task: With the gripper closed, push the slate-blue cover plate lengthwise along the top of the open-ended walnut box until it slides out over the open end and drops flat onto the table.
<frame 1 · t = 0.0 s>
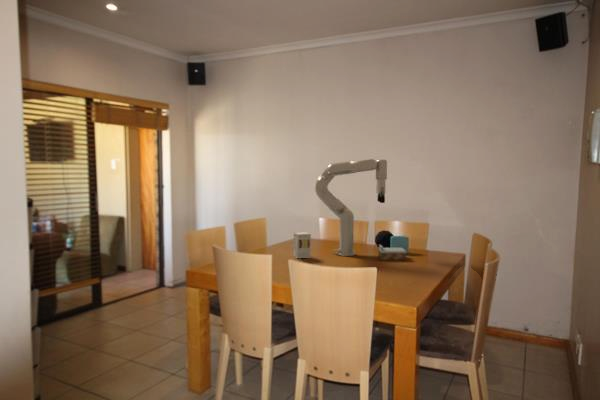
hand: (381, 202, 291), 37 cm above the table, tool pointing down, fingers open, 9 cm apart
decorative orb: (384, 249, 312), on the table
data package: (399, 253, 299), on the table
cover plate: (391, 252, 280), point 4 cm above the table, touching box
supplement box: (302, 257, 285), on the table
box: (391, 258, 280), on the table
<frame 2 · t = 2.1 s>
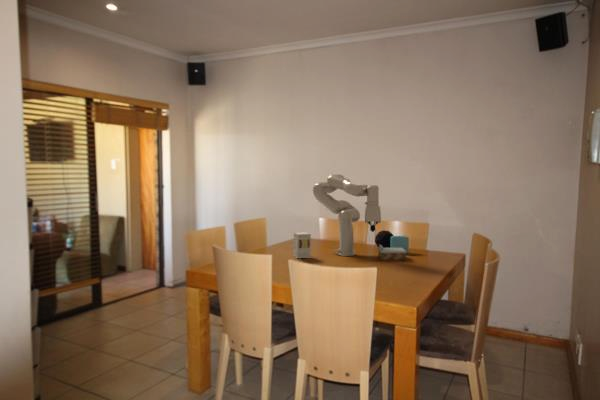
hand: (372, 231, 279), 18 cm above the table, tool pointing down, fingers closed
nothing on the table moved.
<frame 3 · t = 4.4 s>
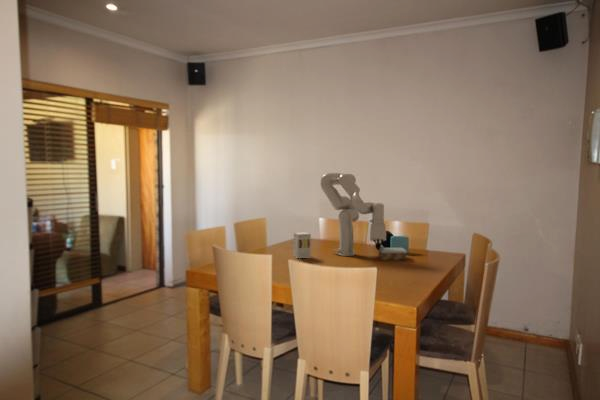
hand: (378, 249, 280), 6 cm above the table, tool pointing down, fingers closed
cover plate: (392, 252, 280), point 4 cm above the table, touching box, gripper
everything else where it was.
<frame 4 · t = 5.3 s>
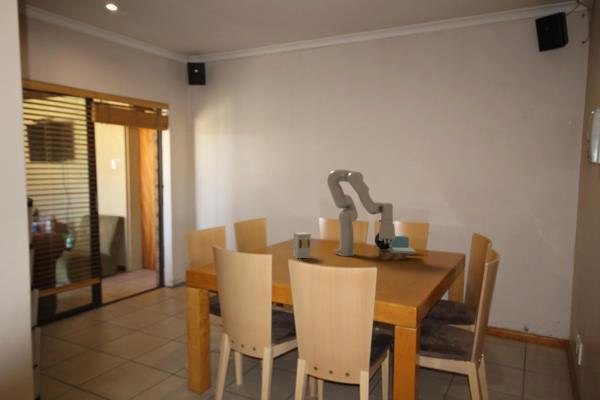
hand: (386, 249, 280), 6 cm above the table, tool pointing down, fingers closed
cover plate: (401, 252, 280), point 4 cm above the table, touching box, gripper
everything else where it was.
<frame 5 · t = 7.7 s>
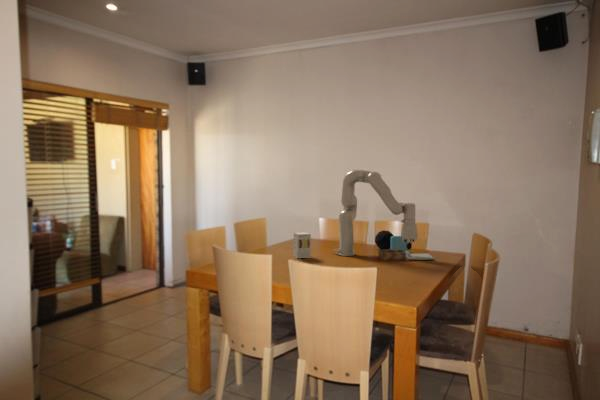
hand: (409, 249, 280), 6 cm above the table, tool pointing down, fingers closed
cover plate: (418, 258, 280), on the table
everything else where it was.
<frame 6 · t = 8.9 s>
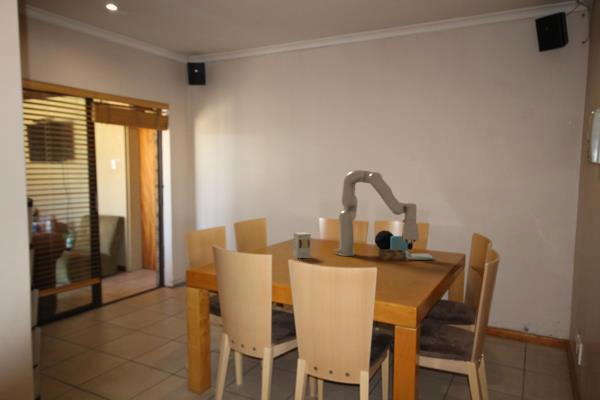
hand: (410, 249, 280), 6 cm above the table, tool pointing down, fingers closed
nothing on the table moved.
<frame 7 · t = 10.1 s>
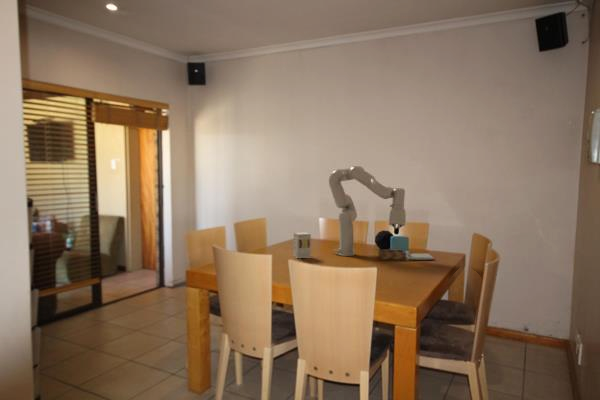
hand: (396, 234, 280), 16 cm above the table, tool pointing down, fingers closed
nothing on the table moved.
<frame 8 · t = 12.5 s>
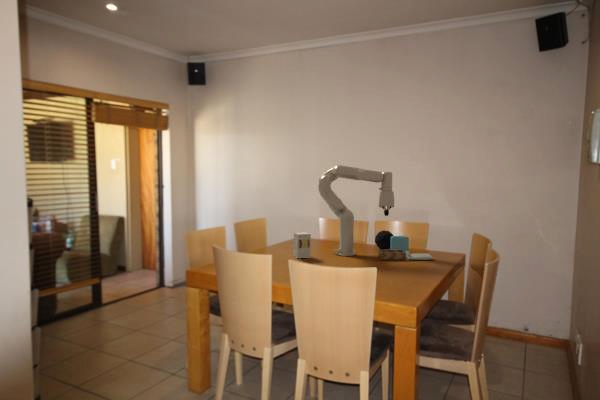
hand: (386, 215, 294), 27 cm above the table, tool pointing down, fingers closed
nothing on the table moved.
at the end: cover plate inside the target area (1.8 cm from its centre), on the table; cover plate moved 18.2 cm from its start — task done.
